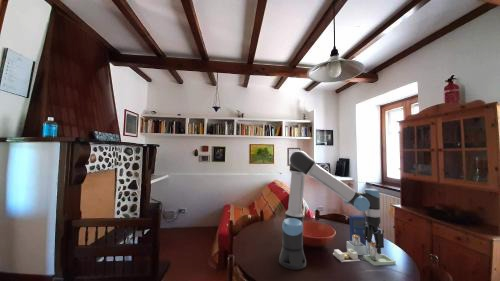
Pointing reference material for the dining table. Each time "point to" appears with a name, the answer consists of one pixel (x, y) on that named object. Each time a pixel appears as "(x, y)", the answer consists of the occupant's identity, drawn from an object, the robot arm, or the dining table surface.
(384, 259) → the trough
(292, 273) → the dining table surface
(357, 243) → the cell
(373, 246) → the cell
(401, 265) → the dining table surface
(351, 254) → the cradle
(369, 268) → the dining table surface
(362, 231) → the electronic device
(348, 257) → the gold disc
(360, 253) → the grey open box
